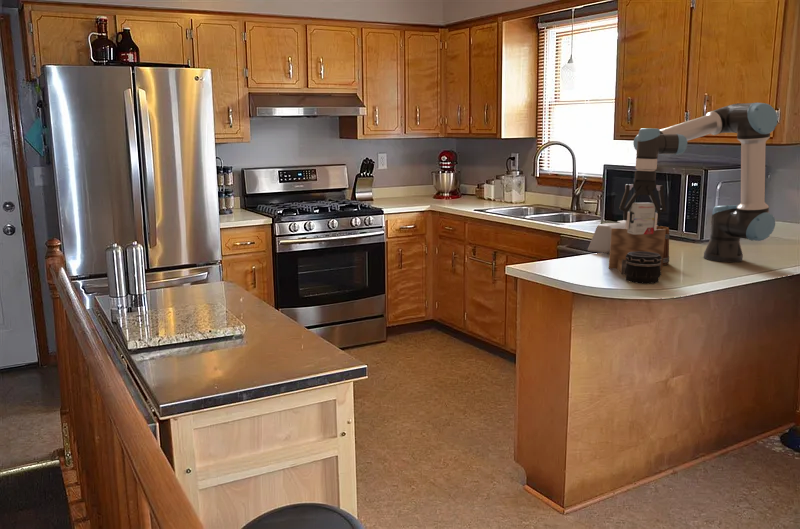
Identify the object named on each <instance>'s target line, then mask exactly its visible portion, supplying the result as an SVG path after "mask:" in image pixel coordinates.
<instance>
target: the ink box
mask: <svg viewBox="0 0 800 529" xmlns="http://www.w3.org/2000/svg"><path fill="white" fill-rule="evenodd" d="M628 212H630V218H629V229H628V231H627V233H630V234H634V235H640V234H653V231H654V219H655V213H656V210H655V205H654V203H652V202H634V203H633V204H632V206H631V207H630V209H629V210H628Z"/></svg>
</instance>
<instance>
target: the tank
mask: <svg viewBox="0 0 800 529" xmlns="http://www.w3.org/2000/svg"><path fill="white" fill-rule="evenodd" d="M616 222H617V223H614V222H613V223H611V222H609V223H608V222H605V223H600V224H598V225H597V226H596V227H595V230H594V233H593V236H592V238H591V240H590V243H589V245H588V248H587V251H588V252H592V253H593V252H594V253H600V254H610V242H611V228H625V225H626V220H624V219H623V220H617V221H616Z"/></svg>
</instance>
